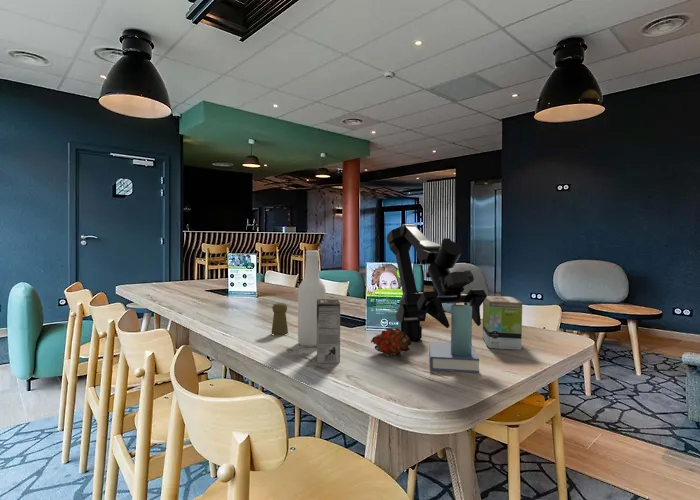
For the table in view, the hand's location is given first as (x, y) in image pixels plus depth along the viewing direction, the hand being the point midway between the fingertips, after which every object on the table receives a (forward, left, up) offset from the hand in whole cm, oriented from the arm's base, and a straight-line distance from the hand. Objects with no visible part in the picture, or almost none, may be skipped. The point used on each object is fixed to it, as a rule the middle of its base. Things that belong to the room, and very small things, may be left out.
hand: (464, 326), depth 102 cm
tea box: (+14, +29, -11) cm, 34 cm away
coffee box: (-37, +2, -11) cm, 38 cm away
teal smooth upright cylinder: (-1, +1, -8) cm, 8 cm away
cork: (-61, +28, -11) cm, 68 cm away
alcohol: (-46, +17, -11) cm, 50 cm away
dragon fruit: (-20, +9, -11) cm, 24 cm away
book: (-3, +5, -11) cm, 12 cm away
